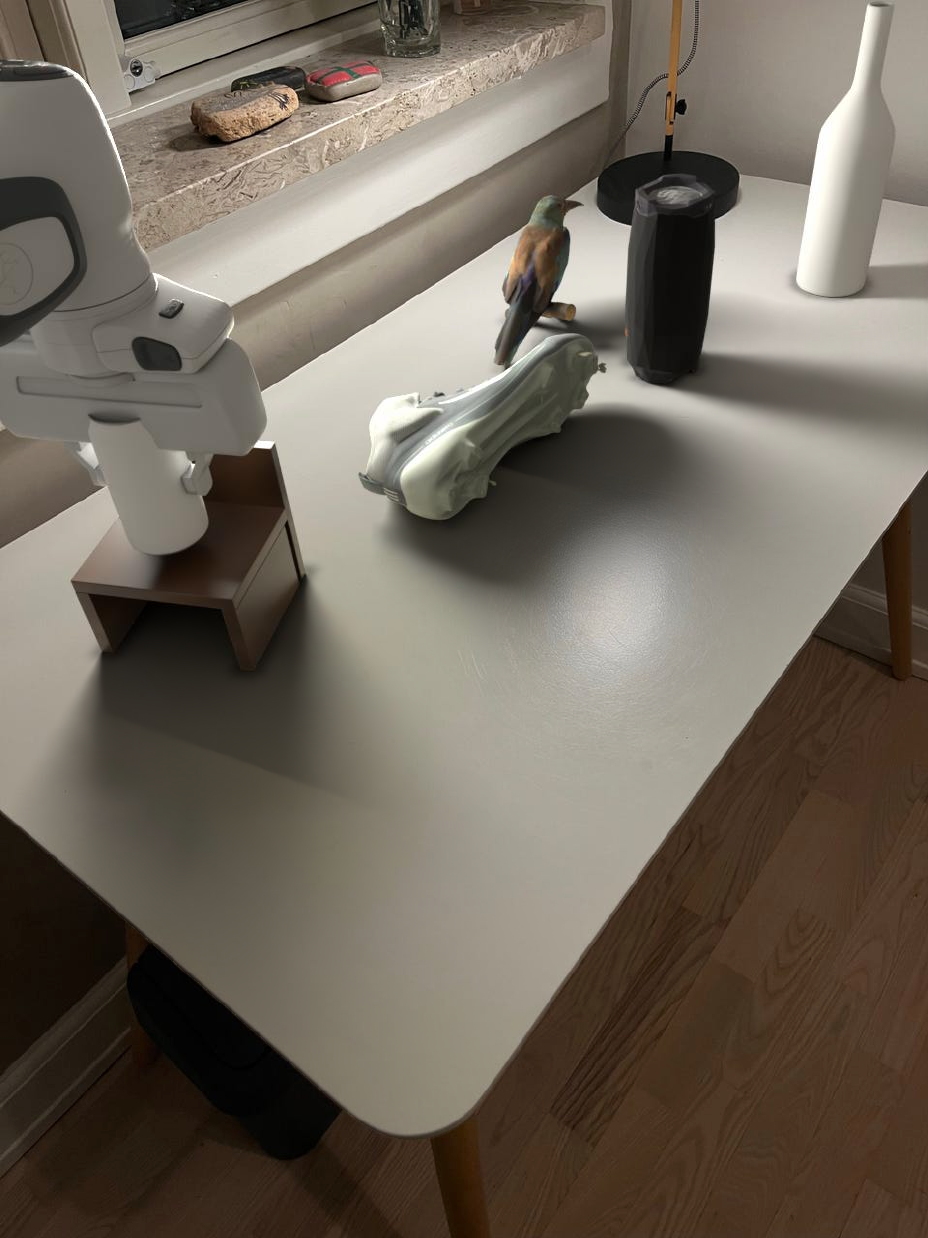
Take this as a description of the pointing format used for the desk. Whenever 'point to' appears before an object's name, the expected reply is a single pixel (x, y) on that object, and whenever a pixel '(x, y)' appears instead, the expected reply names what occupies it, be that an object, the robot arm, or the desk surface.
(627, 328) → the portable speaker
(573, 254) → the desk surface
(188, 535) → the can
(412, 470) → the baseball cleat
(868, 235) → the bottle
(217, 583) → the wooden doll chair
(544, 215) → the bird figurine
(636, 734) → the desk surface
